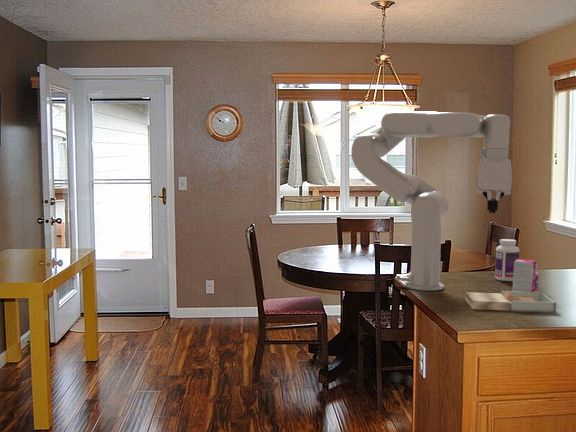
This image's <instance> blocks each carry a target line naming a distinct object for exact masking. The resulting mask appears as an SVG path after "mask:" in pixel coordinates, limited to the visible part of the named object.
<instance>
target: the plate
mask: <svg viewBox="0 0 576 432" xmlns="http://www.w3.org/2000/svg"><path fill="white" fill-rule="evenodd" d="M465 301H466V303H467V304H468V305H469V307H470V308H471V309H472V310H484V311H486V310H488V311H509V312H510V311H511V310H510V302H509V301H508V300H507V299H506V298H505V297H504V296H503V295H502V294H501V292H500V293H498V292H497V293H495V292H493V293H492V292H471V291H465Z"/></svg>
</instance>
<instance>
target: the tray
mask: <svg viewBox="0 0 576 432" xmlns="http://www.w3.org/2000/svg"><path fill="white" fill-rule="evenodd" d="M506 291H508V292H509V293H511V294H512V295H514V296H516V297H517V298H519V297H523V298H533V299H534V300H535V301H536V302H535V301H512V302H511V301H509V300H508V301H509V302H510V311H511V312H515V313H517V312H518V313H546V314H556V310H557V302H556V301H554V299H551V298H550V297H549V296H548V295H546V294H545V293H543V292H540V291H537V292H518V291H512V290H510V291H509V290H501V292H500V293H501V294H502V295H504V294H505V292H506Z"/></svg>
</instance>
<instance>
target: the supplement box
mask: <svg viewBox="0 0 576 432" xmlns="http://www.w3.org/2000/svg"><path fill="white" fill-rule="evenodd" d="M536 265H537V260H531V259H525V258H524V259H523V258H519V259H517V260H515V261H514V274H513V281H512V287H511V288H512V289H511V291H518V292H534V285H535V272H536V271H537V270H536Z"/></svg>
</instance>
